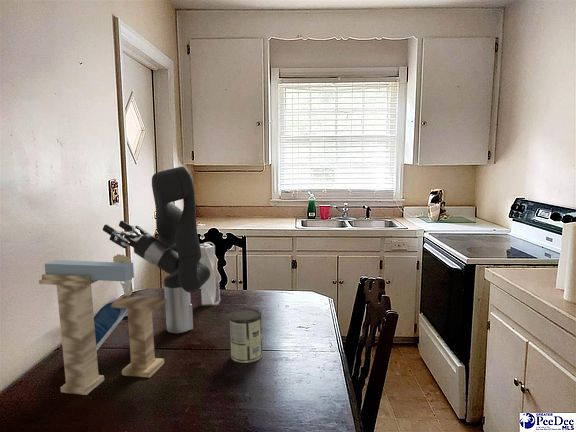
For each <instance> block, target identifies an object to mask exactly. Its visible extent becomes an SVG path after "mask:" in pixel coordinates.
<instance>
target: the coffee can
mask: <svg viewBox="0 0 576 432" xmlns="http://www.w3.org/2000/svg"><path fill="white" fill-rule="evenodd" d="M228 318H229V334H230V335H229V336H230V337H229V338H230V340H229V341H230V359H231V360H233V361H234V362H236V363H242V364H244V363H245V364H246V363H248V364H249V363H253V362H257V361H259V360H260V359H262V357H263V339H262V338H263V337H262V336H263V335H262V312H261V310H258V309H255V308H239V309H236V310H233V311H231V312H230V313H229V314H228Z"/></svg>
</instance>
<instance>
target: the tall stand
mask: <svg viewBox="0 0 576 432" xmlns="http://www.w3.org/2000/svg"><path fill="white" fill-rule="evenodd" d="M98 281H99V280H90V276H75V275H52V274H45V273H42V274H41V279H39V280H38V284H39V285H48V286H49V285H50V286H51V285H52V286H54V285H55V286H56V294H57V295H56V296H57V303H58V313H59V314H58V315H59V323H60V324H59V326H60V332H61V333H60V335H61V345H62V346H61V348H62V356H63V358H62V359H63V366H64V378H65V383H64V384H63V385H62V386H60V393H65V394H74V395H83V396H85V395H86V396H87V395H89V394H90V392H92V391H93V390H94V389H95V388H97V387H98V386H99V385H101V384H102V383H103V382H104V381H105V375H103V374H100V373H99V366H98V365H99V364H98V363H99V362H98V353H97V351H98V350H96V338H95V326H94V317H95V315H94V305H93V304H94V303H93V294H92V290H93V289H92V284H94V283H96V282H98Z"/></svg>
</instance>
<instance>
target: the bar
mask: <svg viewBox="0 0 576 432" xmlns="http://www.w3.org/2000/svg"><path fill="white" fill-rule="evenodd" d="M134 270H135V269H134V262H132V263H122V262H113V261H94V260H93V261H92V260H91V261H90V260H89V261H88V260H87V261H86V260H63V259H60V260H58V259H57V260H55V259H54V260H52V261H49V262H46V263H44V271H45V272H44V274H52V275H75V276H90V280H98V281H103V282H108V281H109V282H120V281H124V282H126V281H128V280H132V279H134V278H135V271H134Z"/></svg>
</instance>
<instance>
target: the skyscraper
mask: <svg viewBox="0 0 576 432" xmlns="http://www.w3.org/2000/svg"><path fill="white" fill-rule="evenodd" d="M211 244H212V245H211ZM200 248H201V254H202V256H201V259H200V261H201V262H203V263H204V264H205V265H206V266H207V267H208V268H209V270H210V277H209V279H208V280H207V281H206V282H205V283H204V284H203V285H202V286H201V287H200V290H201V291H200V295H201V306H203V307H204V306H205V307H206V306H209V307H210V306H219V304H220V302H221V300H222V299H221V291H220V282H219V275H218V272H217V273H216V279H215V273H214V272H215V271H214V268H215V260H216V259H215V258H216V256H215V255H216V245H215V244H214V243H213V242H211V241H206V242H203V243H200Z"/></svg>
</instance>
